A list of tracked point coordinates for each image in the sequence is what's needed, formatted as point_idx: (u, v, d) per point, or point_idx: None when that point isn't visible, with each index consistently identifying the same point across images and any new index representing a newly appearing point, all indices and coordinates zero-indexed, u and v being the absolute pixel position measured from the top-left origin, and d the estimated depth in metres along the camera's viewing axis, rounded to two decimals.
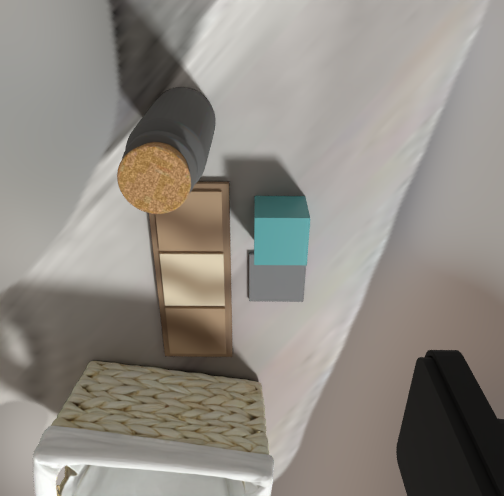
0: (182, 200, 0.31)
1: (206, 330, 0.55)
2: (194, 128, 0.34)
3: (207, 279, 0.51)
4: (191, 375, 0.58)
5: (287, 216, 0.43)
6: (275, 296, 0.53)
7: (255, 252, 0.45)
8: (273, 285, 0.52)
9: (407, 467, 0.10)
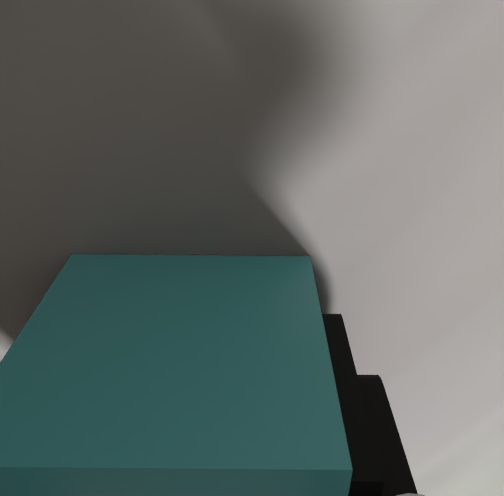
0: None
1: None
2: None
3: None
4: None
5: (181, 451, 0.06)
6: None
7: None
8: None
9: None
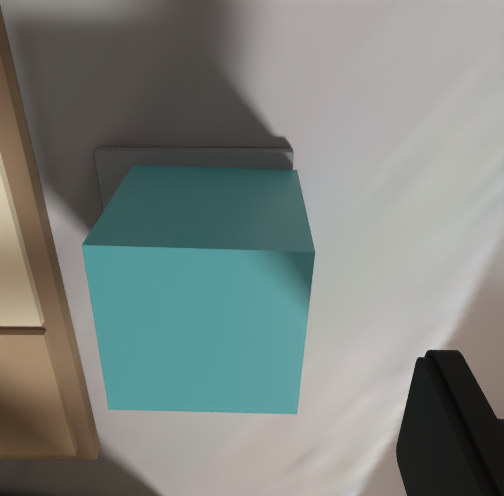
0: None
1: (5, 396, 0.19)
2: None
3: None
4: None
5: (219, 243, 0.11)
6: None
7: (106, 370, 0.12)
8: None
9: (407, 467, 0.10)
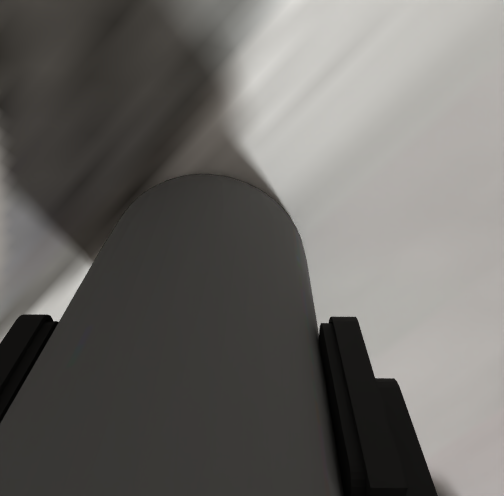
0: None
1: None
2: None
3: None
4: None
5: None
6: None
7: None
8: None
9: None
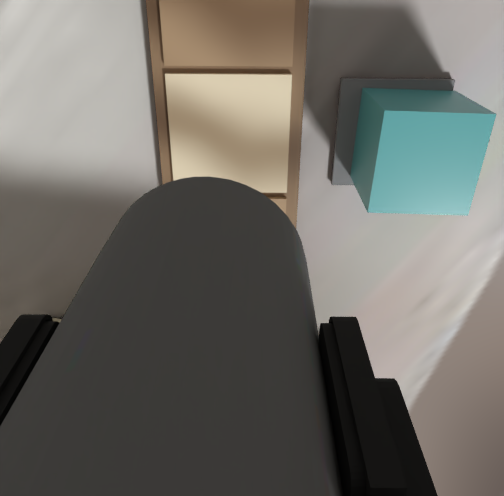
0: None
1: None
2: None
3: (257, 133, 0.26)
4: None
5: (448, 111, 0.22)
6: None
7: (374, 186, 0.23)
8: None
9: None
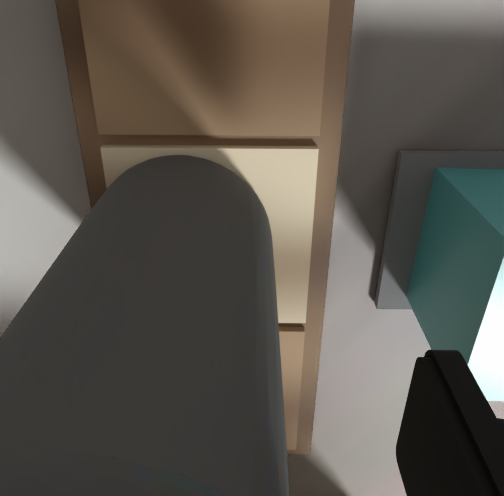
0: None
1: None
2: (249, 457, 0.07)
3: None
4: None
5: None
6: None
7: (472, 362, 0.13)
8: None
9: (407, 467, 0.10)
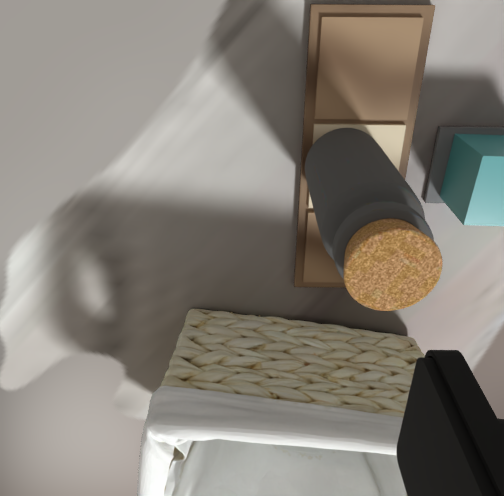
0: (422, 296, 0.24)
1: None
2: None
3: None
4: (325, 327, 0.43)
5: None
6: None
7: (470, 206, 0.33)
8: None
9: (407, 467, 0.10)
